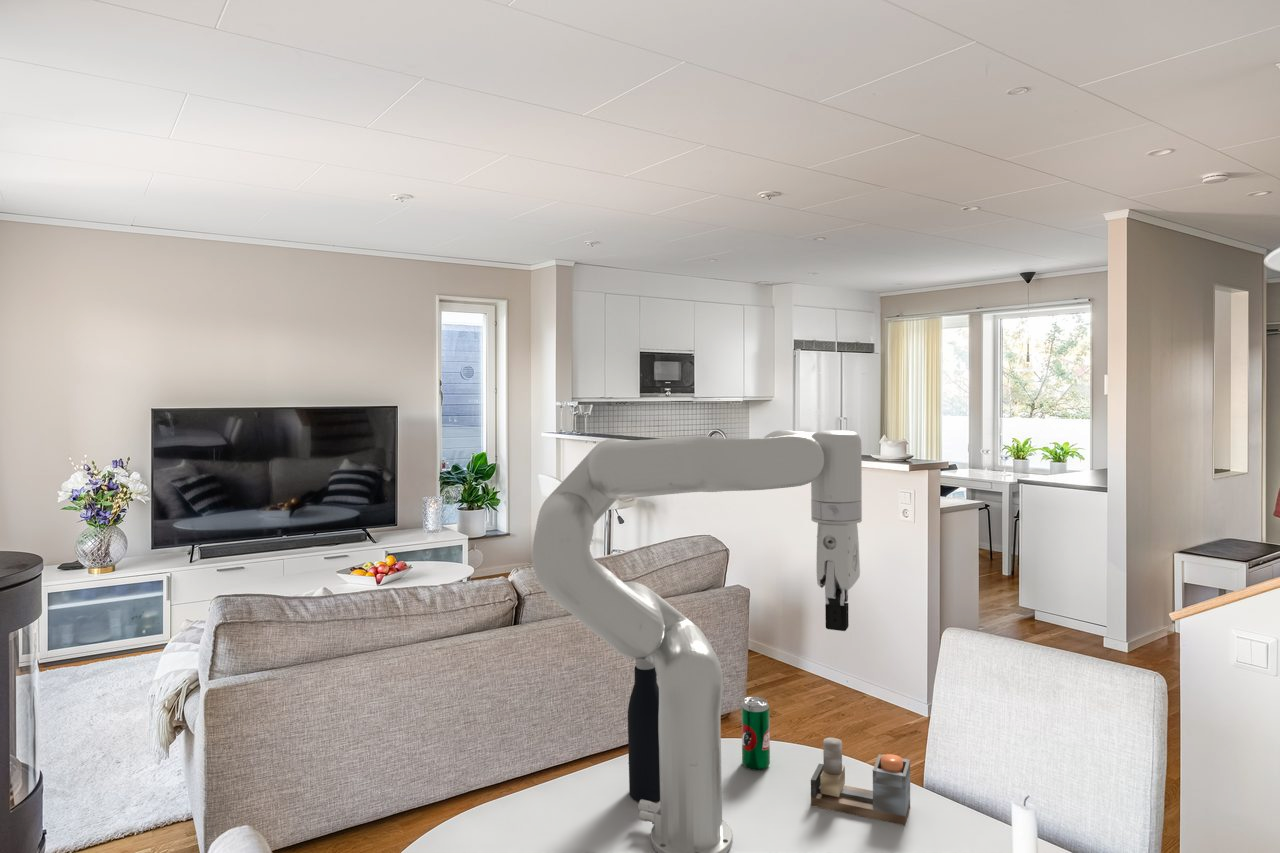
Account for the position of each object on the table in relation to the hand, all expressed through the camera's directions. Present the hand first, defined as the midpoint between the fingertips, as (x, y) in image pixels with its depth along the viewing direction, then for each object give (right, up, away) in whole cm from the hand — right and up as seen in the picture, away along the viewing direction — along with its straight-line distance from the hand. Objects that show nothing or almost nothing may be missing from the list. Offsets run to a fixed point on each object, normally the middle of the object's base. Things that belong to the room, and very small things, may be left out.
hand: (837, 628), depth 125 cm
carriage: (+2, -29, +10) cm, 31 cm away
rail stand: (+6, -32, +8) cm, 33 cm away
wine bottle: (-29, -32, +14) cm, 46 cm away
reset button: (+10, -25, +6) cm, 28 cm away
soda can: (-9, -31, +23) cm, 40 cm away
